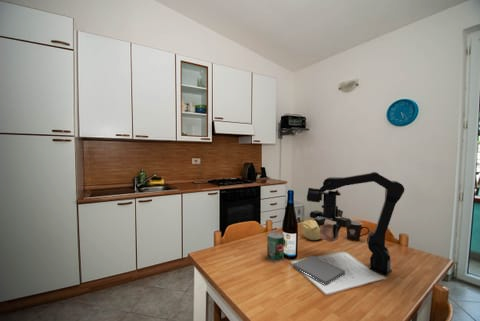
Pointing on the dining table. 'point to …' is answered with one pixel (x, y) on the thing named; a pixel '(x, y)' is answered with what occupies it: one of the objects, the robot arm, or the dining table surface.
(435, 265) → the dining table surface
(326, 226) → the terracotta cube
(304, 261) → the charcoal board
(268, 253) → the canned tomato
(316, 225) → the pale yellow rounded lump
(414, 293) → the dining table surface
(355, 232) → the coffee mug
